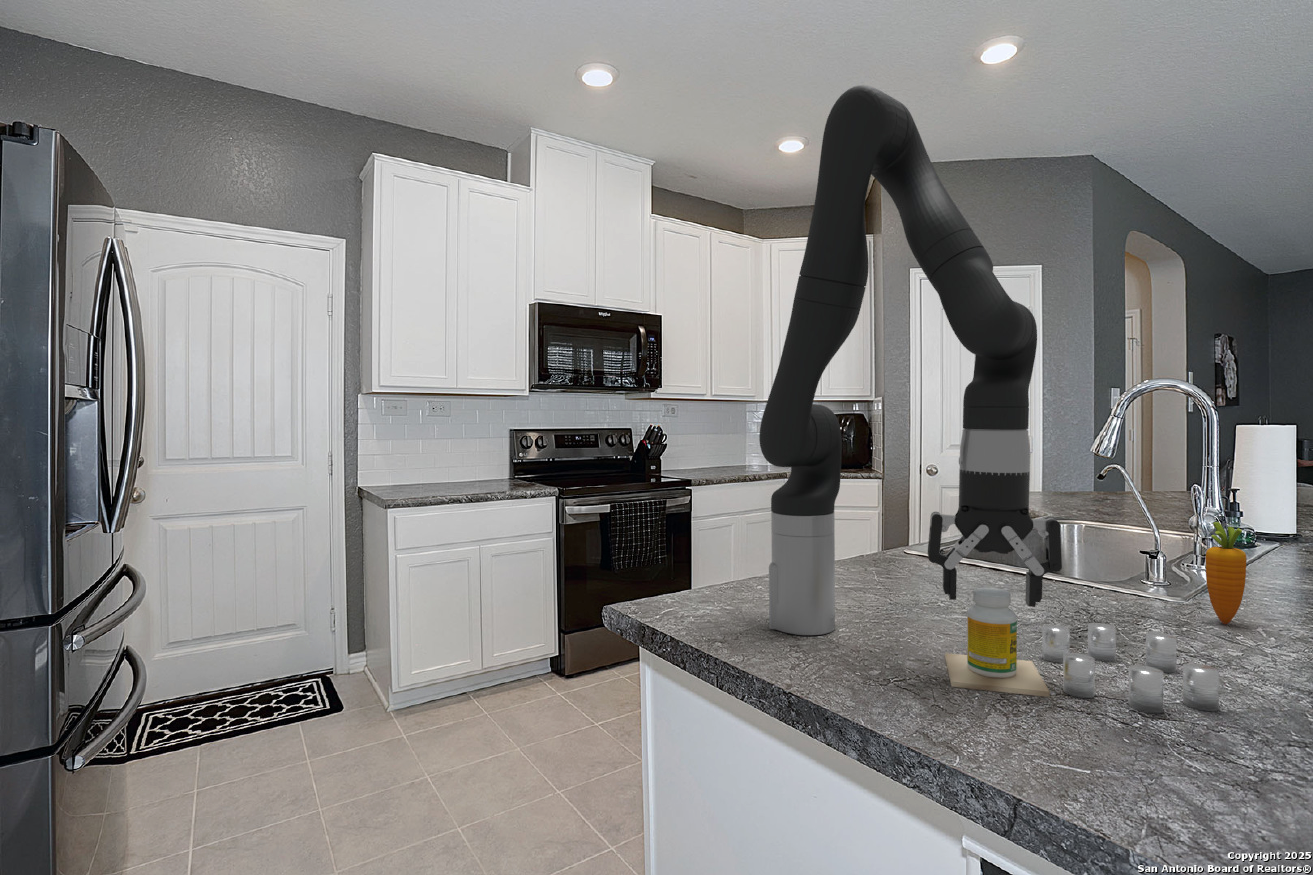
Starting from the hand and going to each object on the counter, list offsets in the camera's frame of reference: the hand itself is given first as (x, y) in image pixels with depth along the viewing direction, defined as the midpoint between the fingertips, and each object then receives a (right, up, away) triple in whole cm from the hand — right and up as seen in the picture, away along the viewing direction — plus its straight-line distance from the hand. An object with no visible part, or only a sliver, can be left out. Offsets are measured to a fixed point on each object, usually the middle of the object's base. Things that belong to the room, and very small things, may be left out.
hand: (990, 601), depth 82 cm
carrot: (+44, -8, +19) cm, 48 cm away
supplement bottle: (0, -8, 0) cm, 8 cm away
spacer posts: (+14, -9, -2) cm, 17 cm away
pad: (0, -9, 0) cm, 9 cm away
